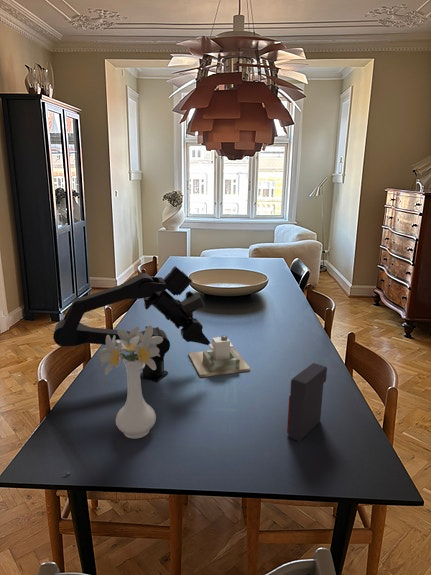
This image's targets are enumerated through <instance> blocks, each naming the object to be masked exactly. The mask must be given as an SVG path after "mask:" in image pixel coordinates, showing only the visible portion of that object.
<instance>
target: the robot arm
mask: <svg viewBox="0 0 431 575" xmlns="http://www.w3.org/2000/svg"><path fill="white" fill-rule="evenodd" d="M192 283H193V280H192V279H191V277H189V276H188V275H187V274H186V273H185V272H184V271H183V270H181V269H179V268H178V267H177V266H176V265H175V266H173V268H171V269H170V271H169V273H168V274H166V275H165V277H157V276H151V275H150V274H147V273H145V272H142V273H138V274H136V275H134V276H132V277H130V278H129V279H127V280H126V281H124V282H123V283H121V284H119V285H116V286H115V285H114V286H113V287H109V288H107V289H104V290H99V291H97V292H94V293H91V294H88V295H85V296H82V297H81V296H80V297H76V298H74V299H73V300H72V302H71V305H70V307H69V308H68V310H67V312H66V313H65V314H64V317H63V319H61V320H60V321H58V322H57V323H56V324H55V327H54V332H53V341H54V343H55V344H56V345H57V346H59V347H63V348H66V347H67V348H68V347H69V348H70V347H78V346H81V345H86V344H91V345H93V344H94V345H100V346H101V345H103V346H106V336H107V335H109V336H110V338H111V340H112V339H113V337H114V335H115V337H116V338H115V340H121V339H120V337H119V336H118V333H117V332H118V330H119V329H110V328H101V327H91V326H88V325H86V324H84V323H81V321H82V318H83V316H84V315H85V313H88V312H91V311H95V310H98V309H101V308H103V307H106V306H110V305H113V304H116V303H118V302H122V301H125V300H140V299H143V306H144V308H145V310H148V309H149V308H150V307H151V306H152V307H154V308H155V309H156V310H157V311H158V312H160V313H161V314H162V315H163V316H164V317H165V319H166V320H167V321H170V322H171V323H172V324H174V326H175V328H176V329H180V328H181V329H180V335H181V338H182V339H183V340H185V342H186V343H190V342H192V343H196V344H197V343H198V344H200V345H201V344H202V345H205V346H209V344H211V342H210V339H209V338H208V337H207V336H206V335H205V333H204V331H203V329H204V326H203V324H202V323H201V322H200V321H199V320H198V319H197V318H196V317H195V318H194V312H195V311H197V310H199V309H202V308H204V307H205V306H206V304H205V303H204V300H203V299H202V297H201V295H200V294H199V292H198V293H197V292H192V291H191V290H189V291H187V292H185V298H184V299H183V300H182V301H180V299H177V298H175V297H174V296H176V297H177V296H181V295H182V293H183V292H184V291H185V290H187V289H188V287H189V286H190V285H191V284H192ZM170 293H171V294H170ZM172 295H173V296H172ZM148 326H149V325H148ZM148 326H145V327H144V328H145V329H144V330H142V331H140V332H141V333H142V334H143V335H144V334H145V331H146V328H147V327H148ZM125 331H126V332H127V333H128V335H129V334H130V332H131V331H132V330H130V331H128V330H125ZM153 336H160V337H162V338H163V341H162V342H161V343H160V344H156V346H157V348H159V355H160V356H154V357H150V358H151V359H153V361H154V362H155V364H156V370H153V369H151V368H150V367H149V366H148V365H147V364H146V363H145V367H144V368H143V369H141V370H142V372H140V379H143V380H147V381H148V380H149V381H152V382H158V381H159V380H160V379H162V378H163V377H165V376H167V374H169V372H168V371H167V370H165V360H164V359H165V355H166V354H167V353H168V352H169V350H170V349H171V343H170V340H169V338H168V335H167V333H166V331H164V330H163V329H160V328H159V326H157V327H153V334H152V336H151V337H153ZM151 337H150V338H151ZM138 344H139V343H138ZM116 347H117V345H116Z"/></svg>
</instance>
